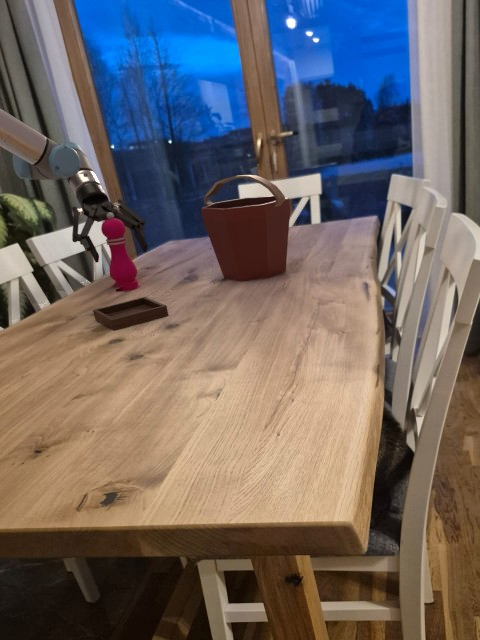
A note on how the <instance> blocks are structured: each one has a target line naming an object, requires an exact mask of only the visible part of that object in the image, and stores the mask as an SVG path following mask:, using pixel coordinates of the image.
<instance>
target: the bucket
mask: <svg viewBox="0 0 480 640" xmlns="http://www.w3.org/2000/svg"><path fill="white" fill-rule="evenodd" d="M237 179H248V180H251V181H252V182H256V183H257V184H258V185H259V184H260V185H261V186H263V187H264V188H265V189H267V190H268V191H269V192H270V194H272V195H265V196H251V197H242V198H235V199H229V200H223V201H217V202H212V201H211V200H210V198H211V197H213V196H214V195H216V194H218V192H219V191H220V190H221V189H222V187H223V185H225V184H226V183H229V182H231V181H233V180H237ZM203 201H204V205H205V206H202V207H201V208H200V210H201V218H202V221H203V224H204V227H205V230H206V232H207V235H208V238H209V241H210V244H211V246H212V249H213V253H214V254H215V257H216V260H217V263H218V265H219V268H220V271H221V273H222V277H223V278H224V279H227V280H232V281H238V282H243V281H252V280H253V281H254V280H263V279H270V278H271V277H274V276H277V275H279V274H282V273H284V272H286V271H287V258H288V247H289V246H288V245H289V244H288V243H289V242H288V241H289V232H290V231H289V230H290V219H291V206H290V198H289V197H287V196H285V195H284V193H283V192H282V190H281V189H280V188H279V187H278V186H277V185H276V184H274V183H273V182H271V181H270V180H268V179H266V178H264V177H262V176H259V175H256V174H241V175H234V176H230V177H227V178H223V179H221V180H218V181H215V182H214V184H213V185H212V186H211V188H210V189H209V191H207V193H206V194H205V195H204V196H203Z"/></svg>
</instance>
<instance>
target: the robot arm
mask: <svg viewBox="0 0 480 640" xmlns="http://www.w3.org/2000/svg"><path fill="white" fill-rule="evenodd" d="M0 147H1V148H2V149H4V150H5V151H8V152H9V153H11V154H12V165H13V166H12V167H13V170H14V173H15V174H16V176H17V177H18V178H19V179H22V180H30V181H32V180H42V181H43V180H44V181H46V180H47V181H48V180H49V181H50V180H51V181H52V180H53V181H55V180H56V181H67V183H68V185H69V186H70V189H71V190H72V192H73V194H74V196H75V198H76V200H77V202H78V204H79V205H80V207H81V208H78V207H77V206H72V207H71V216H72V218H73V220H72V221H73V223H72V233H71V234H72V236H71V241H72V242H73V243H77V242H79V244H80V245H81V246H82V247H83V249H84V250H85V251H86V252H90V254H91V256H92V258H93V261H94V262H95V263H99V262H100V254H99V251H98V250H97V248H96V246H95V245H94V242H93V240H92V239H91V237H90V235H89V233H90V231H91V229H92V227H93V225H94V223H95V222H97V223H101V222H104V221H105V220H107V219H108V218H107V214H108V213H109V212H111V213H113V215H114V218H115V219H119V220H121V221H122V222H123V224H124V226H125V228H128V229H130V230H131V231H133V236H134V237H135V240H136V241H137V242H138V245H139V247H140V248H141V250H142V252H143V253H146V252H147V251H148V244H147V241H146V234H145V231H144V230H145V227H146V222H147V221H146V220H145V219H144V218H142V217H141V216H140V215H138V214H137V213H136V212H135V211H134V210H132V209H131V208H130V207H128V206H127V205H126V204H125V202H124V201H123V200H122V199H119V198H118V200H117V201H116V202H112V201H111V200H110V199H109V196H108V195H107V193H106V191H105V189H104V187H103V186H102V184H101V182H100V180H99V179H98V176H97V175H96V173H95V170H94V169H93V167H92V165H91V163H90V160H89V158H88V156H87V155H86V154H85V152H84V150H83V149H82V148H81V146H80V145H79V144H78V143H76V142H75V141H74V142H73V141H65V142H64V143H62V142H61V143H57V142H55V141H54V140H52V139H50V138H49V137H47V136H45V135H44V134H42V133H40V132H39V131H38V130H36V129H34V128H33V127H31V126H30V125H27V124H26V123H24V122H23V121H21V120H19V118H16V117H15V116H13V115H12V114H10V113H9V112H7V111H5V110H3V109H2V108H0ZM82 215H84V216H85V217H87V218H86V220H85V222H84V225H83V227H82V230H81V232H80V233H79V225H80V218H81V217H82Z"/></svg>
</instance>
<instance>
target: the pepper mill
mask: <svg viewBox="0 0 480 640" xmlns="http://www.w3.org/2000/svg"><path fill="white" fill-rule="evenodd" d="M107 218H108V219H107V220H105V221H102V223H101V227H100V229H101V230H100V231H101V233H102V235H103V236H104V237H105V238H106V239H105V241H106V245H107V246H108V247H109V250H110V251H109V252H110V263H109V277H110V279H112V280H113V281H114V282H115V283H114V287H115V288H116V289H115V291H116V292H128V291H133V290H137V289H138V288H139V286H140V285H139V280H138V279H136V277H137V276H138V268H137V266H136V264H135V262H134V261H133V259H131V256H130V255H129V253H128V250H127V247H126V242H127V240H126V236H124V235H125V233H126V226H124V224H123V222H122V221H121V220H119V219H115V218H114V215H113V213H111V212H109V213H108V214H107Z"/></svg>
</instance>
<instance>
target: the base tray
mask: <svg viewBox="0 0 480 640" xmlns="http://www.w3.org/2000/svg"><path fill="white" fill-rule="evenodd" d="M92 313H93V317H94V319H95V321H97V322H98V323H100V324H102V325H103V326H105V327H107V328H109V329H111V330H112V331H117V330H121V329H124V328H129V327H132V326H135V325H138V324H142V323H143V324H144V323H146V322H150V321H154V320H159V319H160V318H164V317H168V316H169V311H168V306H167V305H166V304H164V303H161V302H159V301H156V300H154V299H151V298H149V297H147V296H143V297H139V298H135V299H131V300H126V301H123V302H119V303H115V304H111V305H107V306H104V307H99V308H94V309H92Z"/></svg>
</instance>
